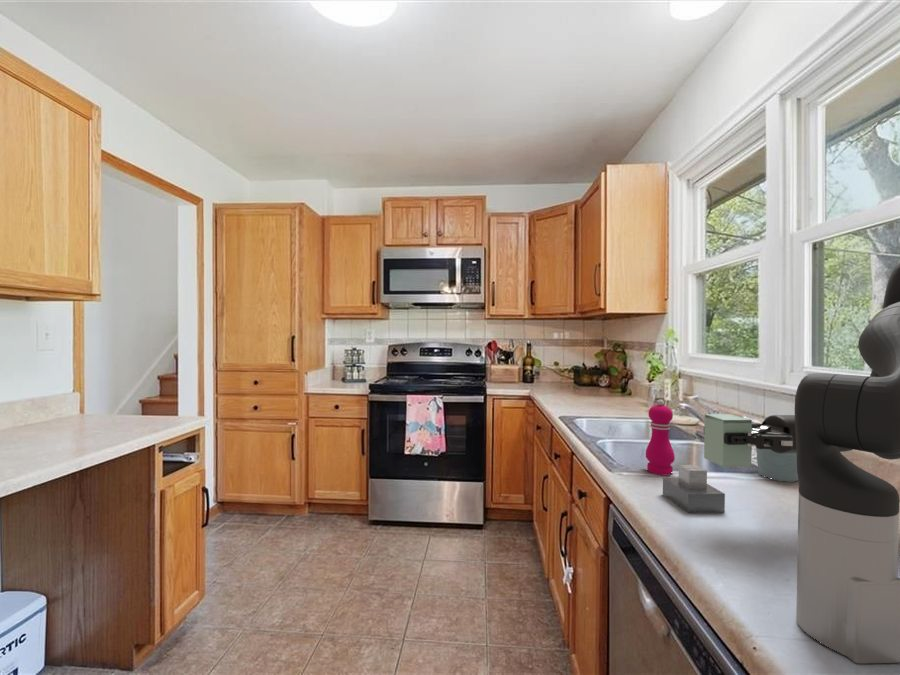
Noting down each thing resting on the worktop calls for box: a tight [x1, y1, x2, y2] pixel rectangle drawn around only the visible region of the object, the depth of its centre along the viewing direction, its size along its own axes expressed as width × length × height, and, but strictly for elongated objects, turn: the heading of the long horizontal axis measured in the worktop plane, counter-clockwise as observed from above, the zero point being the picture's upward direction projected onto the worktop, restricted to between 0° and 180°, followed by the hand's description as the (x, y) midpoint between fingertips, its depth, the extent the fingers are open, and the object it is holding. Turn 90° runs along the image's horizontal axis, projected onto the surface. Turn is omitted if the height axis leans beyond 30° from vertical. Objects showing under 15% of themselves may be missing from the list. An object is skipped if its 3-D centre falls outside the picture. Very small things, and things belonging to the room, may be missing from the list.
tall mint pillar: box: [703, 413, 753, 468], centre depth 83 cm, size 6×6×9 cm
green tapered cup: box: [755, 447, 799, 483], centre depth 112 cm, size 10×10×12 cm
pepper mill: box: [645, 399, 676, 476], centre depth 115 cm, size 7×7×20 cm
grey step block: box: [662, 464, 726, 514], centre depth 94 cm, size 10×8×8 cm
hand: (715, 434), depth 83 cm, fingers closed on tall mint pillar, 5 cm apart
